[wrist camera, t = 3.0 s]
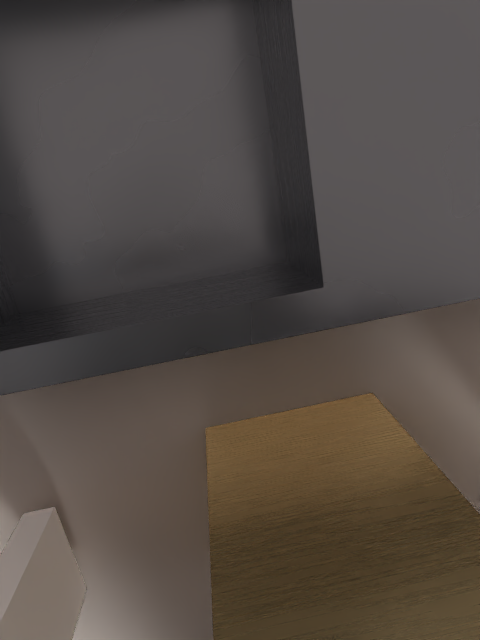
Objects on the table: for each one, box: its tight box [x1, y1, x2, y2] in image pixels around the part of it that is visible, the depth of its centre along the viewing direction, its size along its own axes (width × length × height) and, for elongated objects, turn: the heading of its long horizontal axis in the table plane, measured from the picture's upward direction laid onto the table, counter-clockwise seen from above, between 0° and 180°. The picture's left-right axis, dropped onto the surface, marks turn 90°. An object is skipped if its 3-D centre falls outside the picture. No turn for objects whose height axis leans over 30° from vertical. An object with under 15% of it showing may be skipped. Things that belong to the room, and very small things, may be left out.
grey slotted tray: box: [0, 0, 480, 395], centre depth 7 cm, size 22×7×3 cm, turn 100°
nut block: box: [206, 393, 480, 640], centre depth 8 cm, size 4×4×6 cm
